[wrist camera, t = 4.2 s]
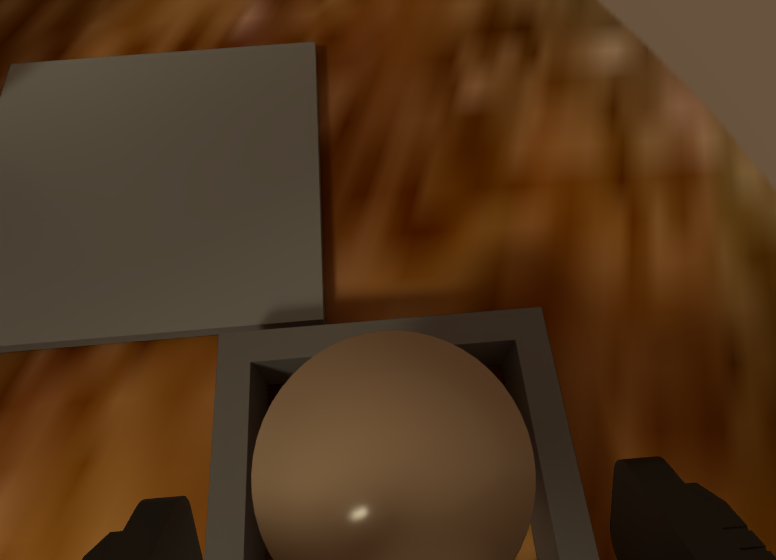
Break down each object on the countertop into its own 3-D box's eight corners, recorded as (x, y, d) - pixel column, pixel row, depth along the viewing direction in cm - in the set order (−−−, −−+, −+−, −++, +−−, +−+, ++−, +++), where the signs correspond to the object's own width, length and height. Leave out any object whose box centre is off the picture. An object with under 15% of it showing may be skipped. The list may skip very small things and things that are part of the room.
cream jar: (316, 601, 16) (245, 644, 8) (313, 425, 18) (255, 341, 11) (489, 585, 16) (565, 614, 8) (464, 412, 18) (507, 320, 11)
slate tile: (-71, 358, 19) (-85, 352, 18) (19, 74, 25) (10, 63, 25) (325, 325, 19) (323, 319, 19) (316, 52, 26) (315, 41, 25)
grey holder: (224, 720, 14) (191, 751, 12) (240, 359, 19) (218, 333, 17) (597, 683, 14) (633, 707, 12) (524, 335, 19) (541, 306, 17)
